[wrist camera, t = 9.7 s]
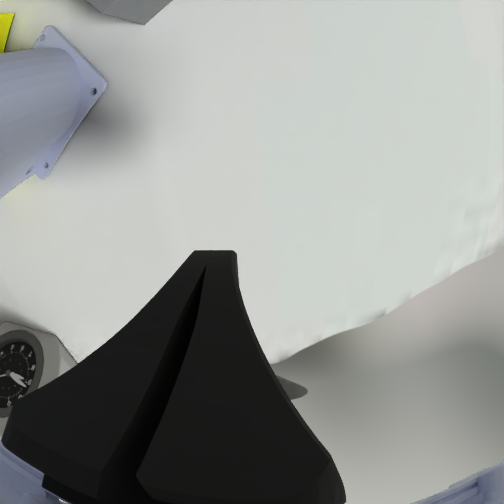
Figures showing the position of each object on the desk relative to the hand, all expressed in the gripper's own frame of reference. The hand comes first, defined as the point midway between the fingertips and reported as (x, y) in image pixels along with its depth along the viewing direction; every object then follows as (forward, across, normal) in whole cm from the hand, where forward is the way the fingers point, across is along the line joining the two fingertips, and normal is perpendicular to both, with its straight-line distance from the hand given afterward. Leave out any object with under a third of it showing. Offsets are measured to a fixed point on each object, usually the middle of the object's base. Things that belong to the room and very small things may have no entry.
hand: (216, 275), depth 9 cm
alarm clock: (+10, +33, +24) cm, 42 cm away
